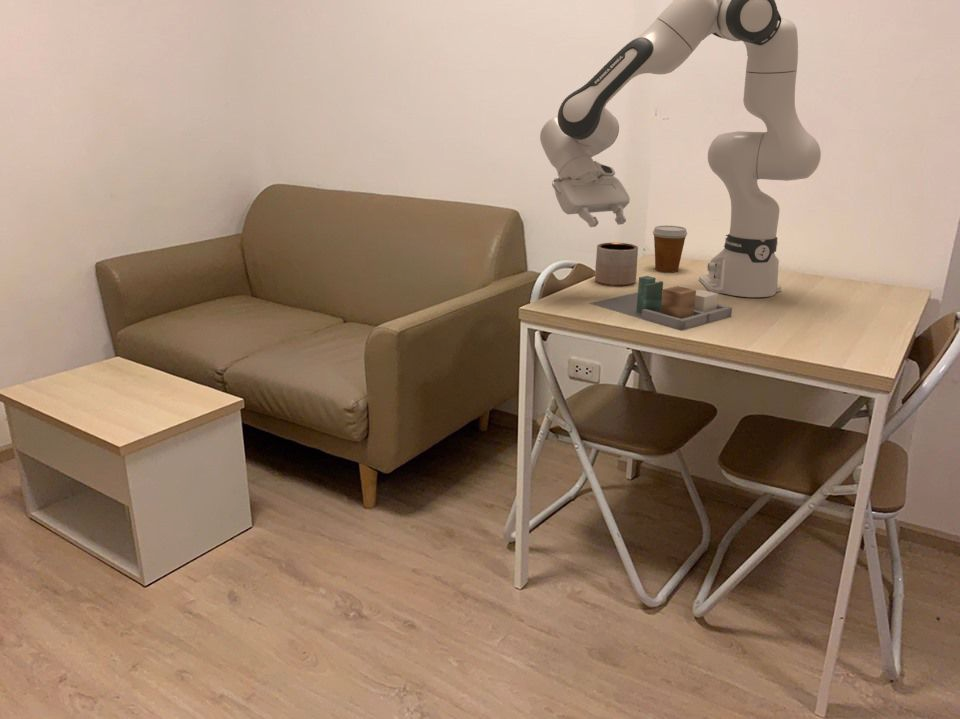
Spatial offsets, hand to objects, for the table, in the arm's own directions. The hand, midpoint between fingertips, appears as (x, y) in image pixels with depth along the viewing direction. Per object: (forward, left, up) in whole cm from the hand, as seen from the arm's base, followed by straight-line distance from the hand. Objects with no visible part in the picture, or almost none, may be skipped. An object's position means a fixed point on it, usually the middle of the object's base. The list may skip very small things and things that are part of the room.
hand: (608, 224), depth 177 cm
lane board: (+9, +10, -19) cm, 23 cm away
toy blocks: (+15, +9, -18) cm, 25 cm away
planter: (-21, +9, -19) cm, 30 cm away
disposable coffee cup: (-33, +28, -19) cm, 48 cm away
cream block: (+14, +18, -18) cm, 29 cm away
